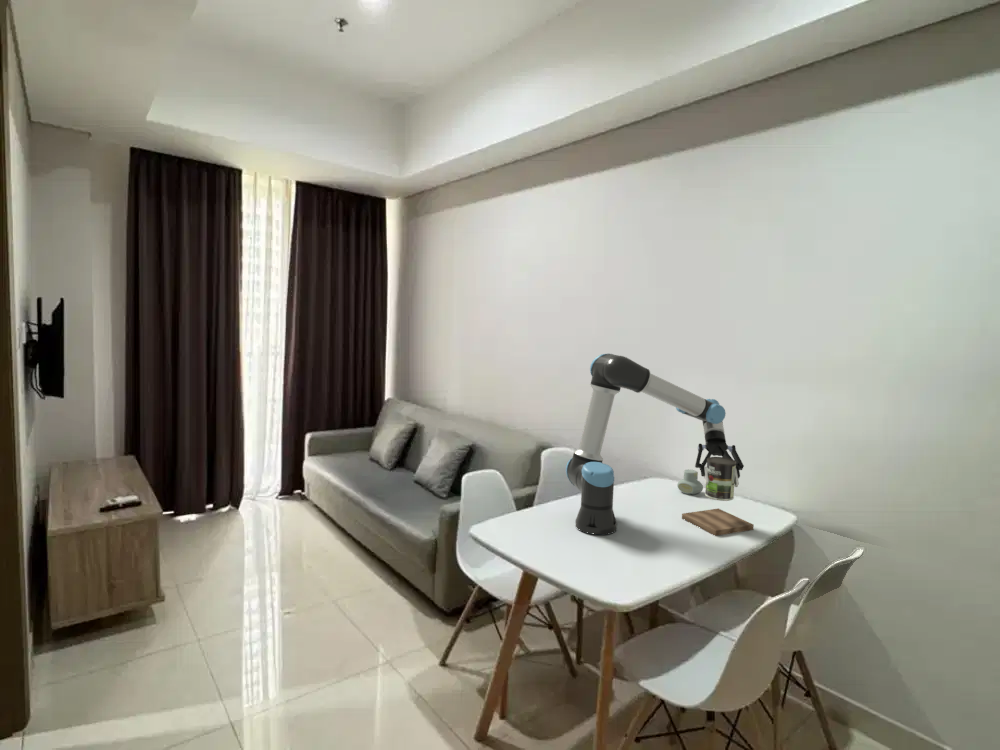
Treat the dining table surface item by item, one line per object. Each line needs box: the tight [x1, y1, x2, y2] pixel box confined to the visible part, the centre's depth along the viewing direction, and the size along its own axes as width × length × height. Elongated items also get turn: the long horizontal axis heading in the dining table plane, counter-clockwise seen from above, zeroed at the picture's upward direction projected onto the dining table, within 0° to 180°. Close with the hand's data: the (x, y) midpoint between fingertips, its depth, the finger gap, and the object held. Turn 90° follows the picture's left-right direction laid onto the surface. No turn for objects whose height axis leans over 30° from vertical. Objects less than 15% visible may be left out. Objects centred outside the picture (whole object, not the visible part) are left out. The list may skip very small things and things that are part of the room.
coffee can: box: [704, 456, 736, 502], centre depth 207 cm, size 10×10×14 cm
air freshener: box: [677, 469, 704, 495], centre depth 245 cm, size 11×8×10 cm
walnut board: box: [681, 508, 754, 537], centre depth 209 cm, size 18×18×2 cm
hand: (721, 484), depth 204 cm, fingers closed on coffee can, 10 cm apart
